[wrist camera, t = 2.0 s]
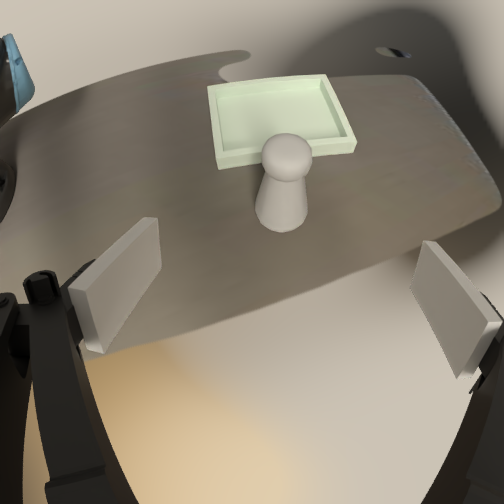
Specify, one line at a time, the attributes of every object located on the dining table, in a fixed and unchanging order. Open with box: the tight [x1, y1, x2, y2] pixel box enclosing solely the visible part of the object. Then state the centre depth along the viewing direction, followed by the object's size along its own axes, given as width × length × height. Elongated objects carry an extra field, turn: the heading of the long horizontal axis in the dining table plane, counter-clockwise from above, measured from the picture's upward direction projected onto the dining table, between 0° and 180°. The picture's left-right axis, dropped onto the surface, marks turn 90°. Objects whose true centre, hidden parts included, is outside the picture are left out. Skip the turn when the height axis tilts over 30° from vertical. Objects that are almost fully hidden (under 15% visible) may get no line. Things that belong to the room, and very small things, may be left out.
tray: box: [207, 74, 357, 170], centre depth 40 cm, size 18×14×2 cm
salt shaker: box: [255, 133, 312, 233], centre depth 30 cm, size 6×6×13 cm
